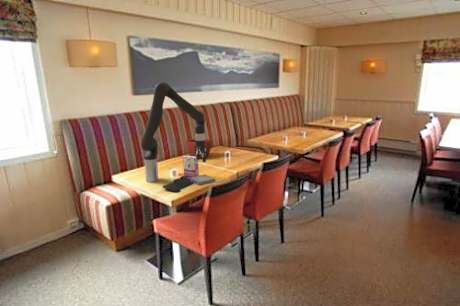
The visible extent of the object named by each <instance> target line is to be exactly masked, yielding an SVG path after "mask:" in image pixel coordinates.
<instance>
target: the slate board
mask: <svg viewBox="0 0 460 306" xmlns="http://www.w3.org/2000/svg"><path fill="white" fill-rule="evenodd" d="M188 178H189V177H188ZM189 179H190V181H191V182H193V183H194V184H195V185H197V186H202V185H206V184H210V183H213V182H216V179H215V178H214V177H213V176H210V175H207V174H201V175H200V174H199V176H196V177H191V178H189Z"/></svg>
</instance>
